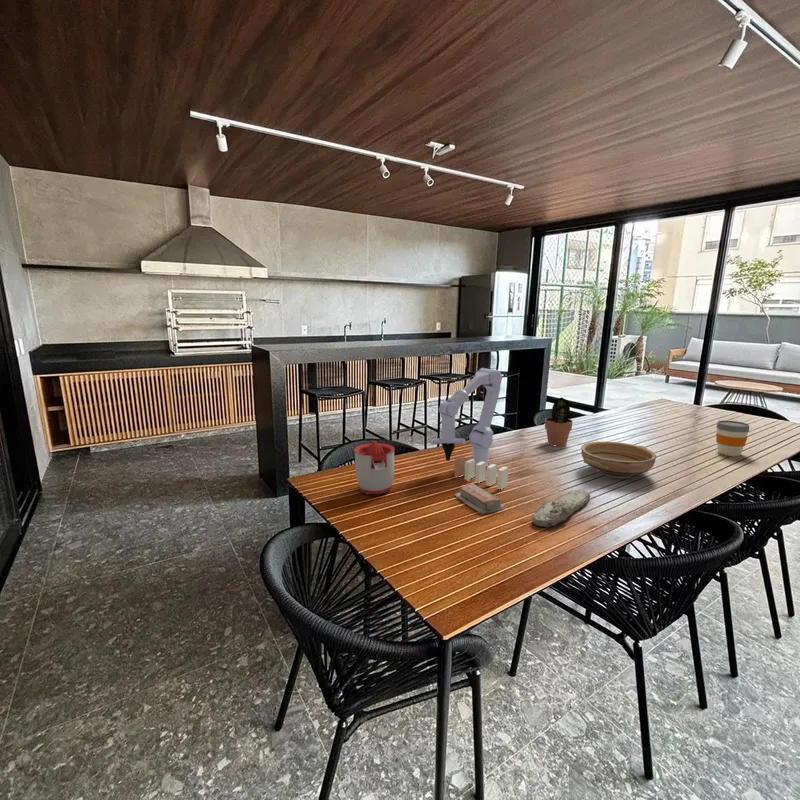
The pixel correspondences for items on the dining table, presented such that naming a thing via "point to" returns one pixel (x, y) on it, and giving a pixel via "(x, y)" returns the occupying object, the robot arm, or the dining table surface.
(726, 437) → the reusable coffee cup
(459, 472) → the brown rectangular block
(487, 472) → the domino
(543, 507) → the long grey stone
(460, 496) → the packaged product
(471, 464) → the cream white flat block
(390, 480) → the citrus juicer
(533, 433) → the dining table surface
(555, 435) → the potted plant
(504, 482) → the domino
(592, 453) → the ceramic bowl
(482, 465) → the domino
